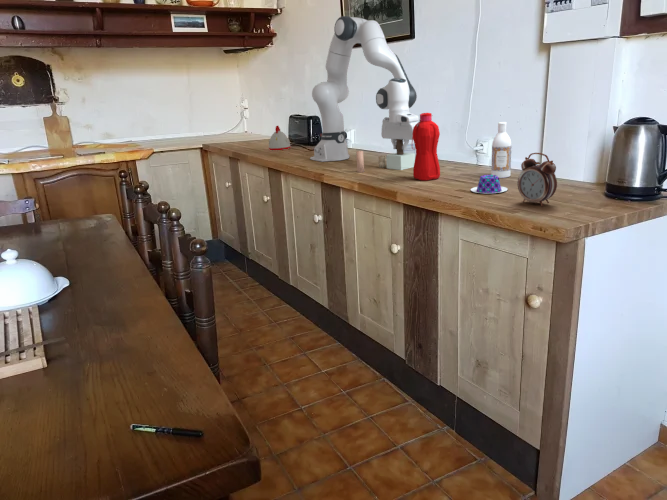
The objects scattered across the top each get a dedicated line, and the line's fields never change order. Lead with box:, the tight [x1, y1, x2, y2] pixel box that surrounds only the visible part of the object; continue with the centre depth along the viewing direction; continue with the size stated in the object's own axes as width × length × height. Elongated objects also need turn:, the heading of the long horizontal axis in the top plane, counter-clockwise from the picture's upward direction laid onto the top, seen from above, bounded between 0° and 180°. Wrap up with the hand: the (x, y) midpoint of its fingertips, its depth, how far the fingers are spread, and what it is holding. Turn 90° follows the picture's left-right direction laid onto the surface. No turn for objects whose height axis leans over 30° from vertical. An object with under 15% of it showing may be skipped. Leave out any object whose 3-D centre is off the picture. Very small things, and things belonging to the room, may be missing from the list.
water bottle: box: [411, 112, 441, 182], centre depth 198 cm, size 9×11×25 cm
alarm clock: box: [517, 152, 558, 207], centre depth 150 cm, size 11×5×15 cm, turn 33°
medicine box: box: [403, 143, 416, 157], centre depth 241 cm, size 8×4×9 cm, turn 84°
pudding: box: [470, 174, 508, 195], centre depth 173 cm, size 12×12×5 cm
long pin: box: [396, 139, 404, 155], centre depth 229 cm, size 3×3×14 cm
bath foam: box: [490, 121, 513, 179], centre depth 192 cm, size 7×7×20 cm
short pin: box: [377, 155, 386, 169], centre depth 234 cm, size 3×3×5 cm
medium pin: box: [356, 150, 365, 173], centre depth 226 cm, size 3×3×9 cm
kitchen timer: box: [268, 125, 292, 151], centre depth 330 cm, size 14×14×15 cm
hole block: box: [385, 152, 415, 171], centre depth 230 cm, size 9×9×6 cm
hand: (400, 149), depth 228 cm, fingers open, 4 cm apart
